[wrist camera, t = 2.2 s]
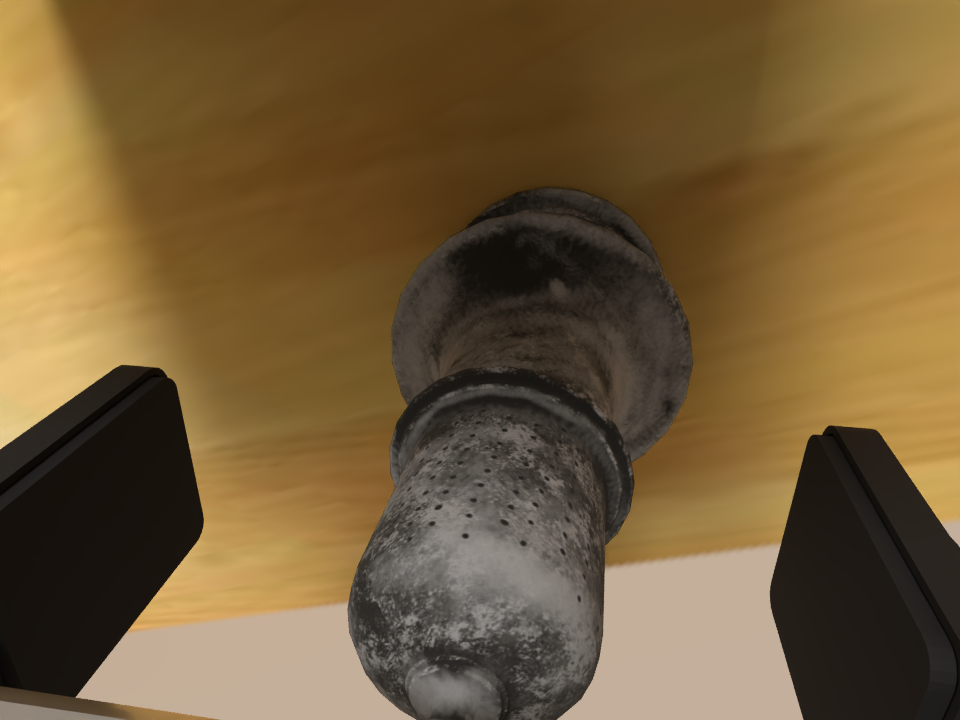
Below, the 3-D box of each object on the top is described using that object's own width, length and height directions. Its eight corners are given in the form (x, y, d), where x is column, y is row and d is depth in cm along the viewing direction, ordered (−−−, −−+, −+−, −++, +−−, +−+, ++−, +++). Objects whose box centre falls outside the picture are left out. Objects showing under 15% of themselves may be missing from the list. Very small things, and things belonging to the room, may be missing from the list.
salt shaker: (558, 444, 18) (475, 1023, 8) (386, 300, 17) (26, 737, 7) (733, 294, 16) (968, 857, 5) (543, 115, 15) (356, 358, 4)
